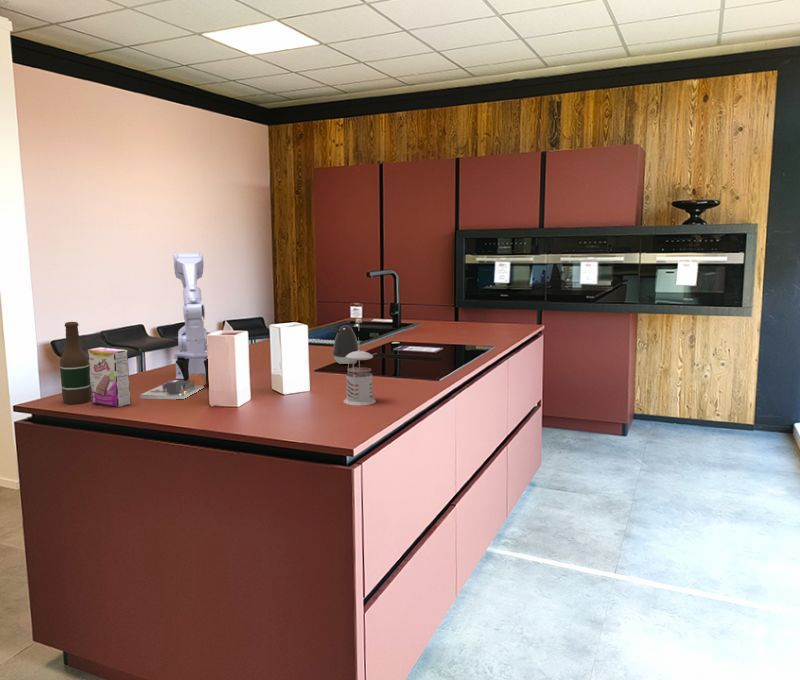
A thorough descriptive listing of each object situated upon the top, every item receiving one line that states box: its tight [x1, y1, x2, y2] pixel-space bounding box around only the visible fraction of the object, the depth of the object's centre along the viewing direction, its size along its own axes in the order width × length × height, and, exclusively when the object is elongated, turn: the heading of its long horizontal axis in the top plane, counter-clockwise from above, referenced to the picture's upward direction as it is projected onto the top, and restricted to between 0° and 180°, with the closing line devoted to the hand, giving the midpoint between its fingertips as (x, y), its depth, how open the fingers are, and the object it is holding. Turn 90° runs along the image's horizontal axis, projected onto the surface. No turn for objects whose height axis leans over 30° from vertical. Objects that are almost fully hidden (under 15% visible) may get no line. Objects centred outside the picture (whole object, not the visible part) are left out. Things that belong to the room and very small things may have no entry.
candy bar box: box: [87, 346, 132, 408], centre depth 192 cm, size 11×5×16 cm, turn 65°
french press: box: [343, 318, 377, 406], centre depth 194 cm, size 10×12×25 cm
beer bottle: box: [59, 321, 92, 405], centre depth 194 cm, size 8×8×24 cm
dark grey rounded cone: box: [331, 325, 359, 365], centre depth 256 cm, size 10×10×15 cm
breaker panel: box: [139, 379, 205, 400], centre depth 206 cm, size 14×15×3 cm
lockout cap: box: [188, 373, 207, 386], centre depth 217 cm, size 4×4×4 cm
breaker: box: [165, 379, 182, 393], centre depth 202 cm, size 3×4×3 cm
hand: (197, 380), depth 217 cm, fingers open, 7 cm apart
